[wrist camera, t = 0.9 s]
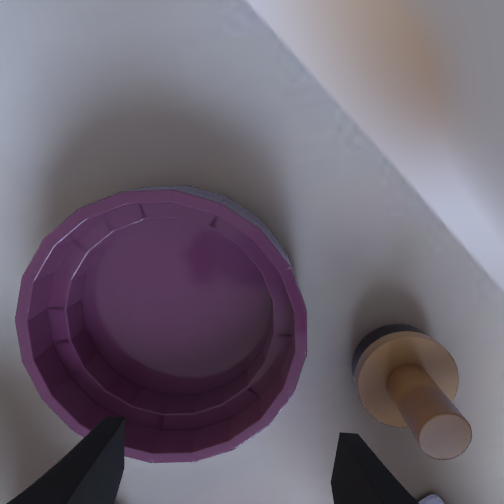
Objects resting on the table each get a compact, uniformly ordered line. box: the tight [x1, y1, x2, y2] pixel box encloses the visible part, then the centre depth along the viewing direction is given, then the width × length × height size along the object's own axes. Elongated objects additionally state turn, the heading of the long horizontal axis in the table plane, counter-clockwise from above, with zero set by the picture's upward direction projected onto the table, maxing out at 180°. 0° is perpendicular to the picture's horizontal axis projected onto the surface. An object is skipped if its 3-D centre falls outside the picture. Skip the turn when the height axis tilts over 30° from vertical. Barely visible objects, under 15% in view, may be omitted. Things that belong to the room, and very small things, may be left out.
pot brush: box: [352, 324, 472, 460], centre depth 21 cm, size 6×6×7 cm
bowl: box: [15, 186, 307, 463], centre depth 22 cm, size 14×14×4 cm
